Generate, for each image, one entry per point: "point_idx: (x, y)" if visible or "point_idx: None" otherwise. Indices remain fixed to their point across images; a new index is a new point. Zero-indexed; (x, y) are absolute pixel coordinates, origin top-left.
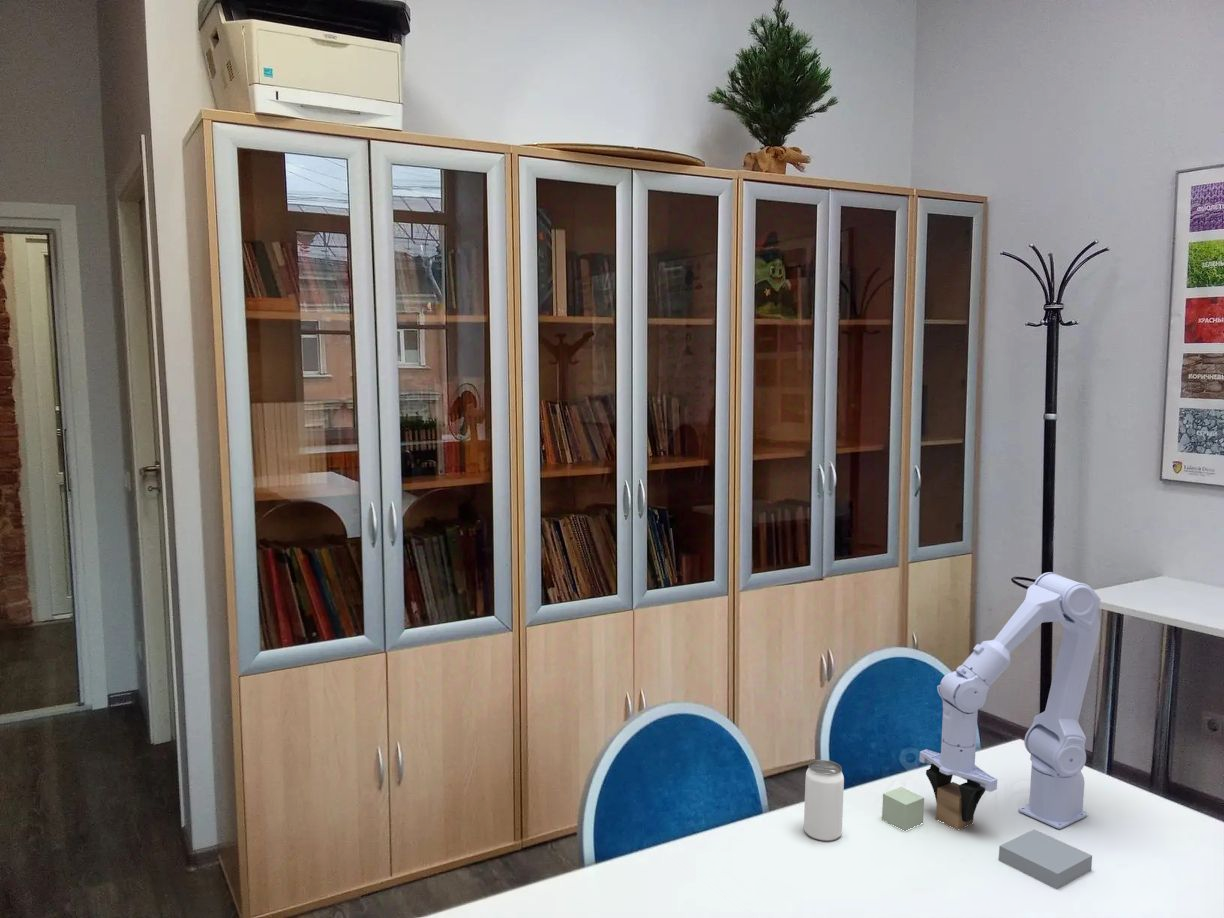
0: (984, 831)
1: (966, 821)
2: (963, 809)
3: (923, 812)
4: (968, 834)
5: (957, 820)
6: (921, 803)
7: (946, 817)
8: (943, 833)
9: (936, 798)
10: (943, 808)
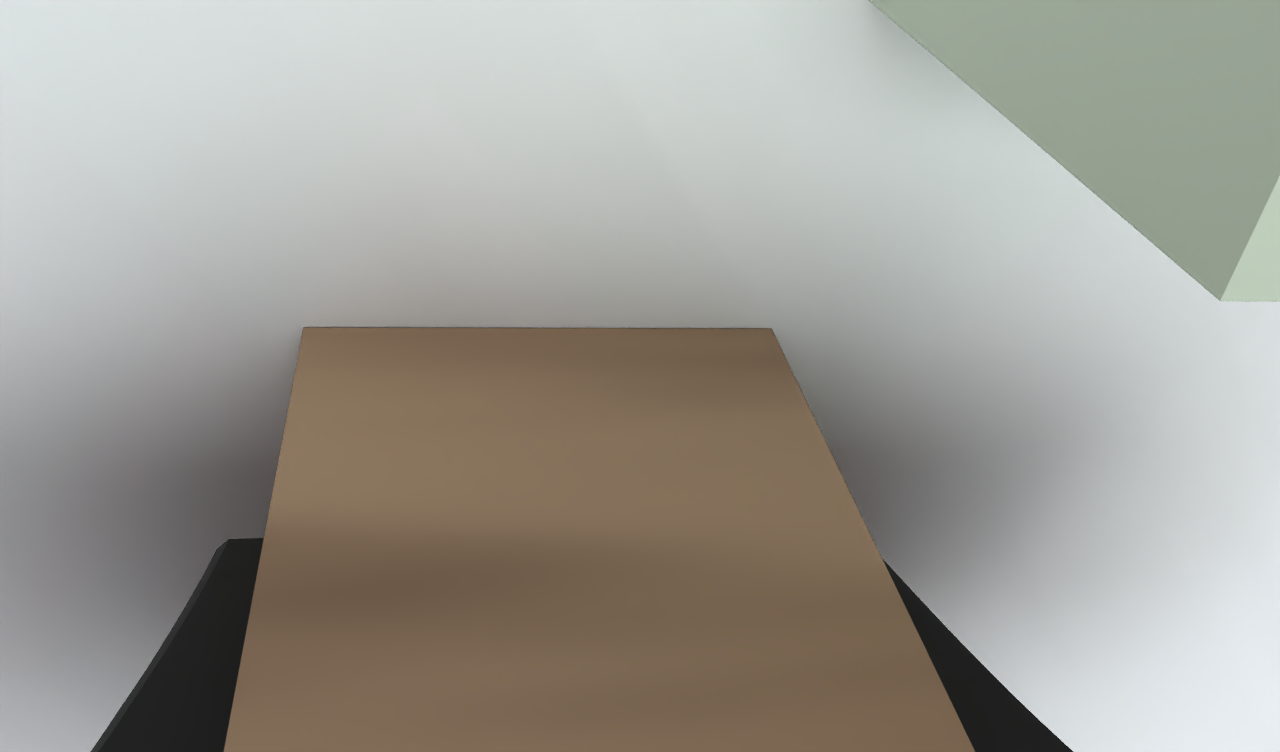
0: (66, 624)
1: (212, 564)
2: (180, 735)
3: (976, 80)
4: (96, 369)
5: (298, 451)
6: (1174, 82)
7: (574, 416)
8: (370, 5)
9: (949, 656)
10: (682, 521)
